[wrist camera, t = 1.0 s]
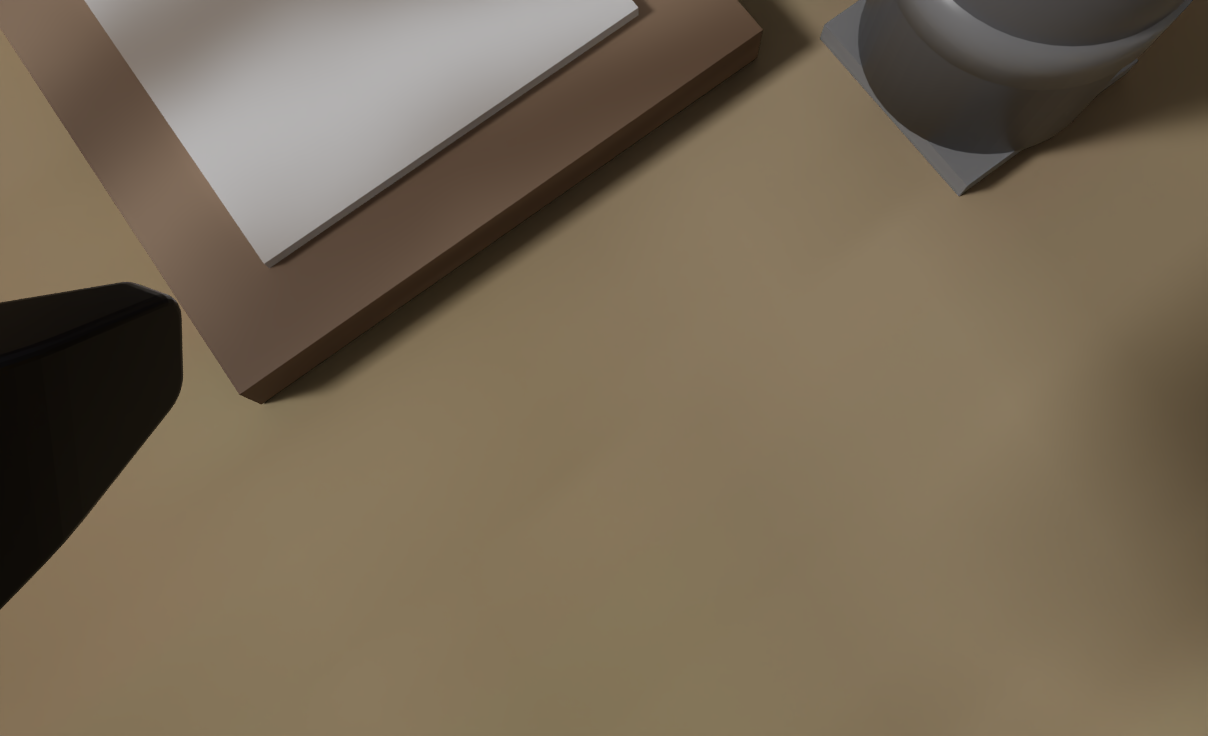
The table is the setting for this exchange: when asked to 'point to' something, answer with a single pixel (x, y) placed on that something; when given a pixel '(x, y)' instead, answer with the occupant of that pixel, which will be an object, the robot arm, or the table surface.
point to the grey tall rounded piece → (990, 68)
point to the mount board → (351, 138)
